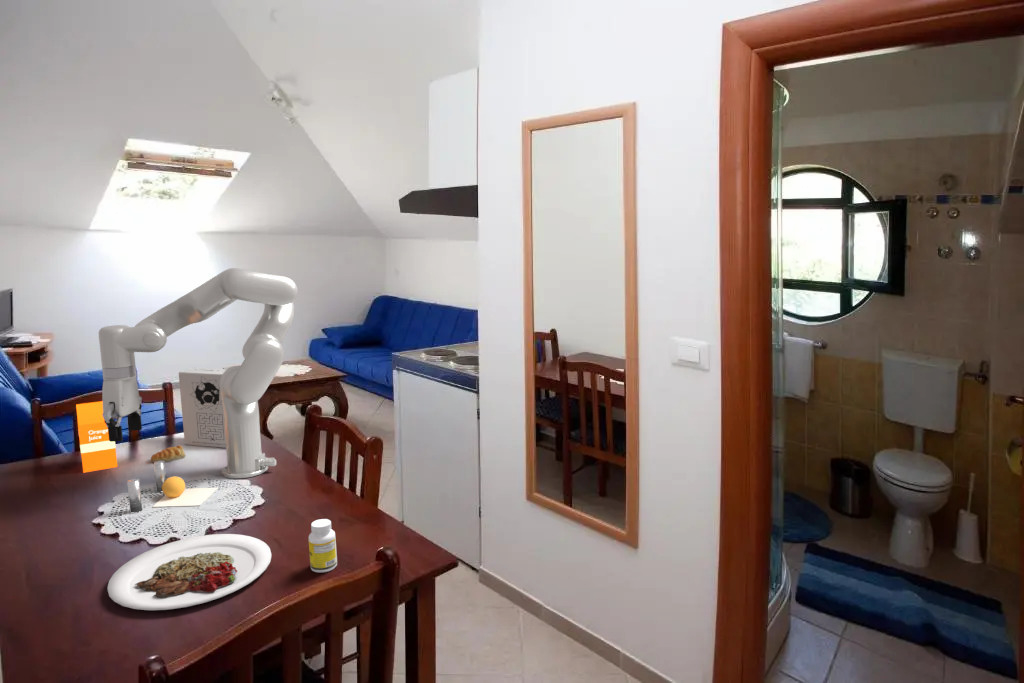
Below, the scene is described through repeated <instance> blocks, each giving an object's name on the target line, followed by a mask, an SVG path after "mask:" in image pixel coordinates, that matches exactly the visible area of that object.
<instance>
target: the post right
mask: <svg viewBox="0 0 1024 683" xmlns="http://www.w3.org/2000/svg"><path fill="white" fill-rule="evenodd" d="M165 463H166V462H165V461H156V462H153V468H154V470H153V471H154V478H155V480H154V481H155V488H156V490H155V491H156V492H157V493H162V492H161V491H162V485H163V483H164V481H165V480H166V479H167V473H166V464H165Z"/></svg>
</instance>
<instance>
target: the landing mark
mask: <svg viewBox="0 0 1024 683" xmlns="http://www.w3.org/2000/svg"><path fill="white" fill-rule="evenodd" d="M218 489H219V487H194V488H193V487H191V488H185V490H184V492H183V493H182V494H181V495H180V496H178V497H174V498H171V497H167V496H166V495H165V494H164V496H163V497H162V498H161V499H160V500H158V501H157V502H156V503H154V505H152V506H151V508H178V507H185V508H187V507H201V506H202V505H203V504H204V503H205V502H206V501H207V500H208V499H209V498H210V497H211V496H212V495H213V494H214V493H215V492H216V491H218ZM204 501H205V502H204ZM203 502H204V503H203ZM202 503H203V504H202ZM201 504H202V505H201ZM200 505H201V506H200Z"/></svg>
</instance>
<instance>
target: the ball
mask: <svg viewBox="0 0 1024 683" xmlns="http://www.w3.org/2000/svg"><path fill="white" fill-rule="evenodd" d="M185 489H186V483H185V481H184V479H182V477H179V476H175V475H174V476H169V477H168V478H166V480H165V481H164V483H163V485H162V491H163V492H162V493H163V495H164V496H165V495H166V496H167V497H171V498H174V497H178V496H180V495H181V494H182V493H183V492H184V490H185Z"/></svg>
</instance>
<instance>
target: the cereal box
mask: <svg viewBox="0 0 1024 683" xmlns="http://www.w3.org/2000/svg"><path fill="white" fill-rule="evenodd" d="M227 369H228V368H210V367H209V368H208V367H192V368H189V369H186V370H184V369H183V370H182V371H181V370H180V371H179V372H178V380H179V382H178V383H179V393H180V403H181V404H180V405H181V417H182V428H183V429H182V430H183V440H184V445H185V446H186V445H188V446H199V447H211V448H223V449H226V439H225V426H224V413H223V404H222V398H221V392H220V379H221V376H222V374H223V373H224V372H225V371H226V370H227Z"/></svg>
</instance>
